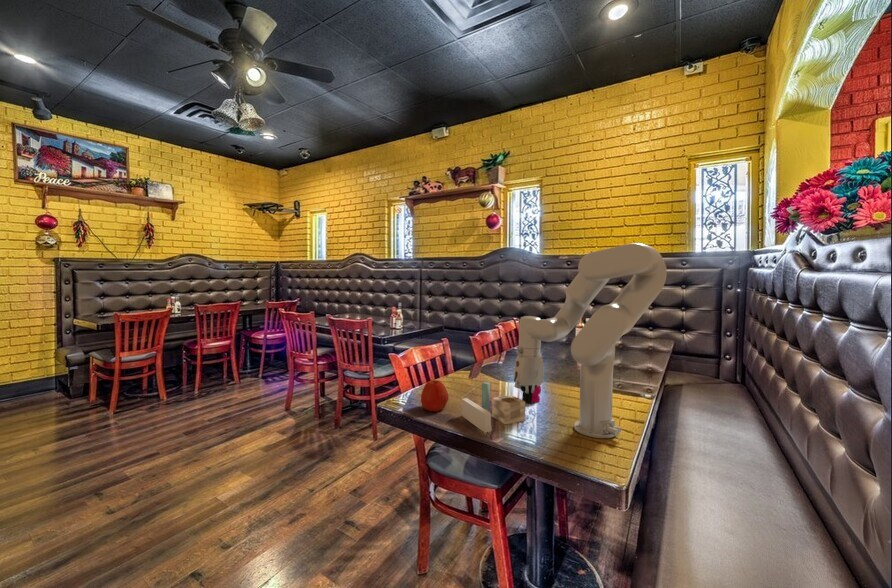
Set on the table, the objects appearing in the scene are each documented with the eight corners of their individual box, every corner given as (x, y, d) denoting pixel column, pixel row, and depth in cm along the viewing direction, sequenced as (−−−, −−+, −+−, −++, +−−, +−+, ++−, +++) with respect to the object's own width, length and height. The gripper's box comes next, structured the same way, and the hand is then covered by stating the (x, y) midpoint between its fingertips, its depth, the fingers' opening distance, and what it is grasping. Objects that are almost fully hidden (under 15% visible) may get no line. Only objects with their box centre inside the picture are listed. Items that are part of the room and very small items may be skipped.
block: (525, 420, 125) (525, 401, 125) (505, 424, 122) (505, 405, 122) (511, 412, 133) (511, 394, 132) (492, 416, 129) (492, 397, 129)
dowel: (491, 411, 134) (491, 383, 134) (484, 412, 133) (484, 384, 133) (487, 408, 137) (487, 381, 137) (480, 409, 136) (480, 382, 135)
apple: (454, 408, 137) (453, 380, 137) (433, 415, 130) (433, 386, 130) (435, 401, 145) (435, 375, 144) (414, 408, 138) (414, 380, 137)
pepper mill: (539, 397, 149) (539, 348, 149) (542, 403, 142) (542, 351, 141) (521, 397, 150) (521, 348, 149) (523, 403, 143) (523, 351, 142)
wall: (490, 431, 116) (490, 412, 116) (485, 432, 115) (485, 413, 115) (466, 414, 131) (466, 398, 131) (461, 415, 130) (461, 398, 130)
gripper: (518, 355, 124) (515, 409, 125) (553, 352, 130) (550, 404, 131) (505, 350, 131) (503, 402, 132) (539, 348, 137) (537, 397, 138)
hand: (527, 402), depth 132 cm, fingers closed
